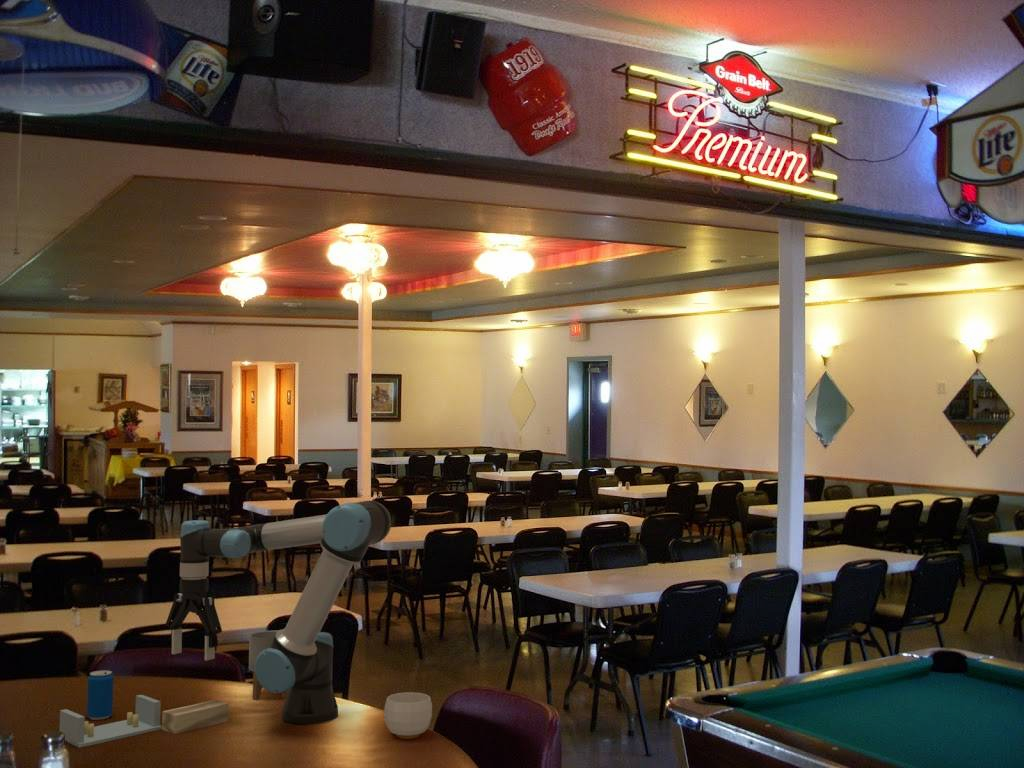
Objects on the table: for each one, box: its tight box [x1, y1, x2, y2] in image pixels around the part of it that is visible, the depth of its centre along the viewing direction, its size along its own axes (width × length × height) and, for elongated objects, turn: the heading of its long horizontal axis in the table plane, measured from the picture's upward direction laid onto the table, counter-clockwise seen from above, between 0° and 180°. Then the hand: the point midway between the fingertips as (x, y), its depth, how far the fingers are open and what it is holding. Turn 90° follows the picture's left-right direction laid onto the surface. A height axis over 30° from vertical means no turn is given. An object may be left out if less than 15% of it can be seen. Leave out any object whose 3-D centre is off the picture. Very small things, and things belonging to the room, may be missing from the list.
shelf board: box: [161, 699, 229, 735], centre depth 274 cm, size 6×16×5 cm, turn 140°
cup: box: [383, 691, 433, 740], centre depth 267 cm, size 12×12×10 cm
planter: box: [248, 630, 289, 701], centre depth 306 cm, size 13×13×18 cm
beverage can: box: [86, 669, 115, 721], centre depth 280 cm, size 6×6×12 cm
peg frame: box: [59, 694, 162, 748], centre depth 266 cm, size 12×22×7 cm, turn 138°
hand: (192, 656), depth 281 cm, fingers open, 13 cm apart
